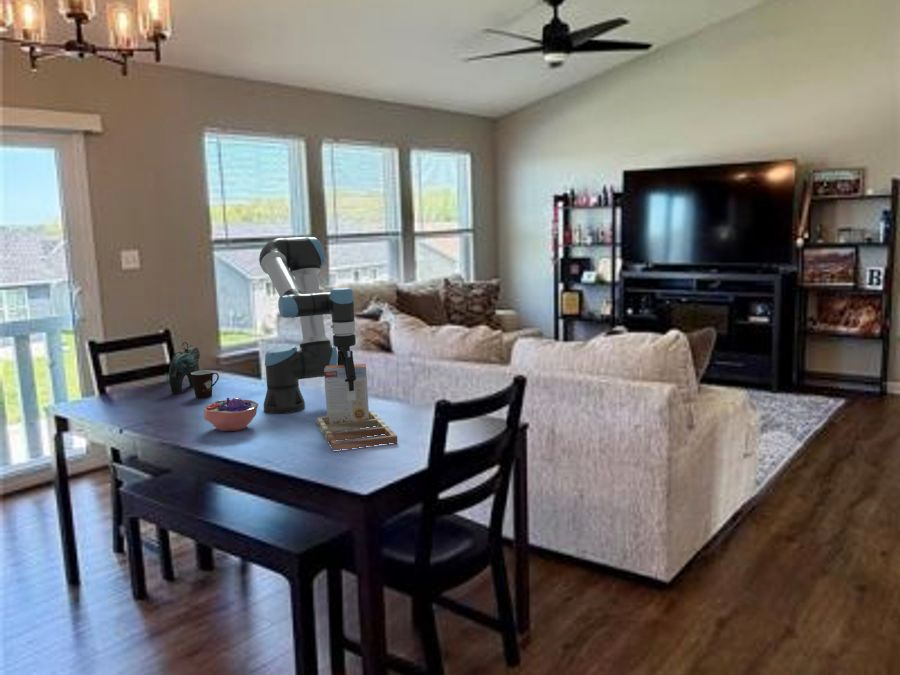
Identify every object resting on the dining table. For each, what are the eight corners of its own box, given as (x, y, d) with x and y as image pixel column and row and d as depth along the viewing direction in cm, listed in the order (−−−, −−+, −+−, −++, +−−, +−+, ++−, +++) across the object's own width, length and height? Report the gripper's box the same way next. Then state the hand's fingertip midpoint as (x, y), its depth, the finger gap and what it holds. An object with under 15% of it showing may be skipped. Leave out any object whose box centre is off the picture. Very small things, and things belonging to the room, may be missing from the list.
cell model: (236, 418, 266) (234, 388, 264) (269, 428, 253) (267, 396, 251) (193, 429, 253) (191, 397, 251) (226, 440, 240) (223, 406, 238)
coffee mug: (195, 400, 295) (192, 375, 294) (190, 396, 303) (188, 372, 301) (224, 395, 301) (222, 372, 300) (219, 391, 309) (217, 368, 307)
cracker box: (369, 422, 256) (366, 363, 253) (368, 426, 250) (365, 366, 247) (328, 424, 255) (325, 364, 252) (327, 428, 249) (323, 368, 246)
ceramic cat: (192, 383, 327) (188, 338, 323) (206, 383, 325) (202, 339, 322) (167, 394, 307) (162, 347, 304) (181, 394, 306) (177, 347, 303)
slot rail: (316, 424, 255) (316, 417, 255) (373, 417, 261) (373, 410, 261) (333, 452, 224) (333, 444, 224) (397, 443, 231) (397, 436, 230)
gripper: (326, 330, 258) (330, 389, 261) (339, 340, 235) (343, 405, 238) (347, 328, 260) (351, 387, 264) (362, 338, 237) (366, 402, 240)
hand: (347, 395), depth 251 cm, fingers open, 13 cm apart
